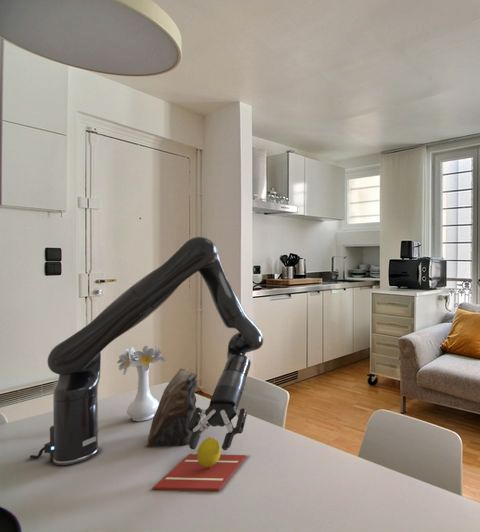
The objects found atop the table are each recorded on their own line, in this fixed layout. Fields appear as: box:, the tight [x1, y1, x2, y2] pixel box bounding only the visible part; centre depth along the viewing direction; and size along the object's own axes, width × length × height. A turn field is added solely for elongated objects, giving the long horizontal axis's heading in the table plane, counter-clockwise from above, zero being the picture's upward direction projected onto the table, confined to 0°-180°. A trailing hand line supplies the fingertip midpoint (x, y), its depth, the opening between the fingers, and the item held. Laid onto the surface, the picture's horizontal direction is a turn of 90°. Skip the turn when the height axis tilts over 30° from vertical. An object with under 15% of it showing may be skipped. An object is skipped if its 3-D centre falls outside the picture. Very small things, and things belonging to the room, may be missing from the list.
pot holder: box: [152, 453, 247, 492], centre depth 96 cm, size 16×15×1 cm
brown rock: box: [146, 368, 198, 448], centre depth 113 cm, size 13×13×20 cm
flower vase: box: [116, 345, 167, 422], centre depth 127 cm, size 13×18×25 cm
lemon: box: [196, 436, 222, 468], centre depth 97 cm, size 6×6×8 cm
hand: (208, 449), depth 96 cm, fingers open, 8 cm apart
